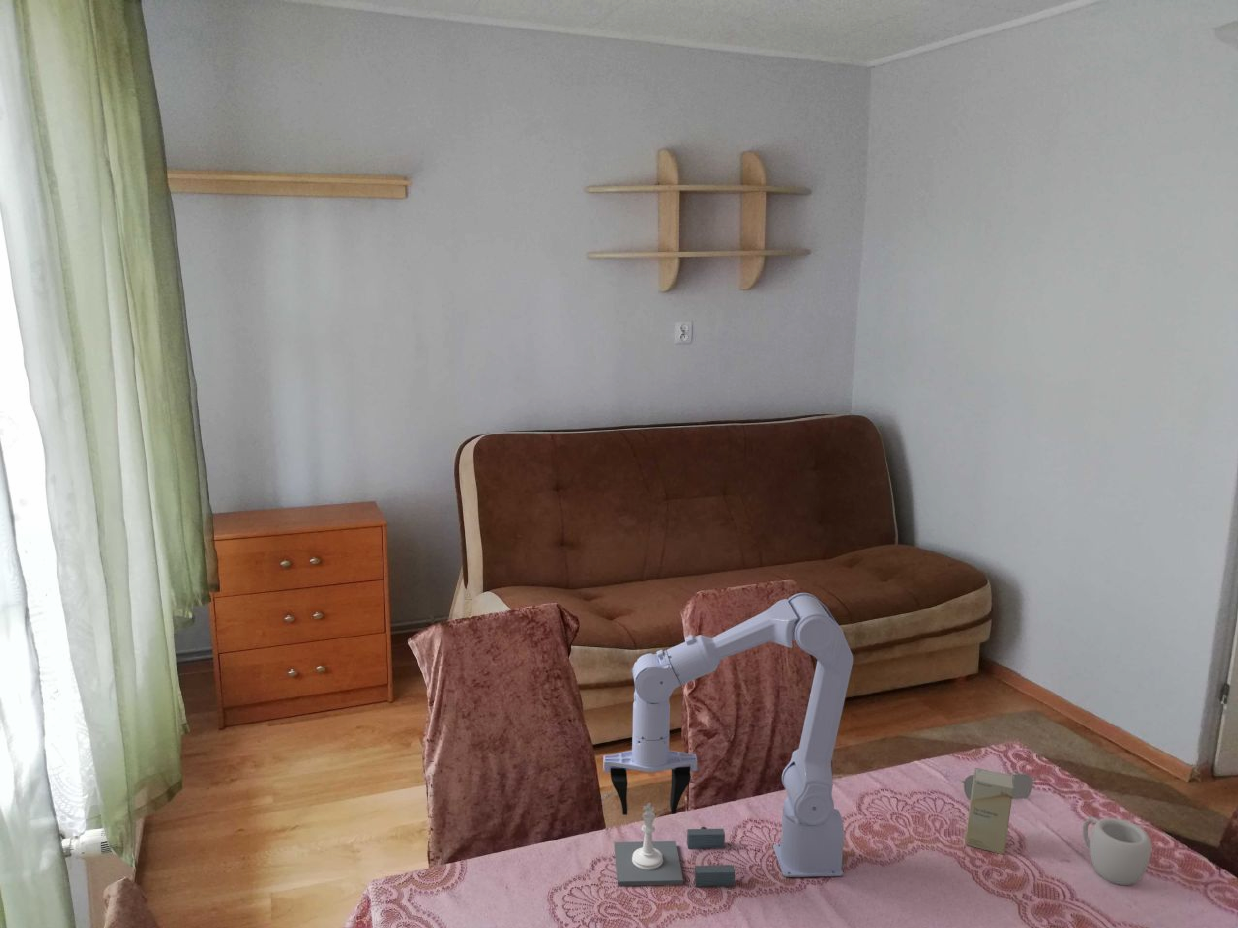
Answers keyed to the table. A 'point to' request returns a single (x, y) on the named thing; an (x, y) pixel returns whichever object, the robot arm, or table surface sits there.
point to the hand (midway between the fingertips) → (648, 810)
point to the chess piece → (647, 844)
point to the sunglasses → (1019, 791)
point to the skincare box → (989, 810)
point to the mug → (1118, 849)
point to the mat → (639, 877)
